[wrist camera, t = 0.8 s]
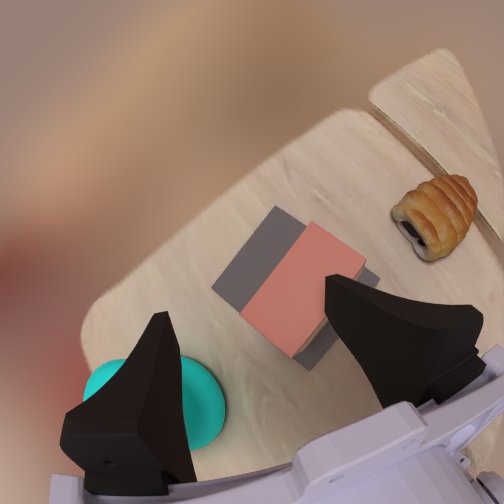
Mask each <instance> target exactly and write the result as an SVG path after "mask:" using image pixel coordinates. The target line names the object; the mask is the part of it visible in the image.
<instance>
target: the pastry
mask: <svg viewBox="0 0 504 504" xmlns="http://www.w3.org/2000/svg"><path fill="white" fill-rule="evenodd" d="M477 202H478V200H477V196H476V193H475V191H474V190H473V188H472V187H471V185H470V184H469V181H468V179H467V178H466V177H463V176H459V175H442V176H441V177H439V178H433V179H432V180H430V181H429V182H423V183H421V184H419V185H418V186H417V188H416V189H415V190H411V191H409V192H408V193H406V195H405V196H404V197H403V199H402V200H401V201H400V202H399V203H398V204H397V205H395V206H393V208H392V217H393V218H394V219H395V221H396V222H397V227H398V229H399V230H400V232H401V233H402V234H403V235H404V236H405V237H406V238H407V239H408V240H409V241H410V242H411V243H412V244H413V248H414V250H415V251H416V253H417V254H418V255H419V257H421V258H422V259H424V260H426V261H436V260H438V259H440V258H442V257H446V256H448V255H450V254H451V253H452V252H453V250H454V249H455V247H456V246H457V245H458V244H459V243H460V242H461V241H462V240H463V239H464V238H465V236H466V233H467V232H468V230H469V228H470V225H471V222H472V221H473V216H474V212H475V210H476V209H477Z"/></svg>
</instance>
